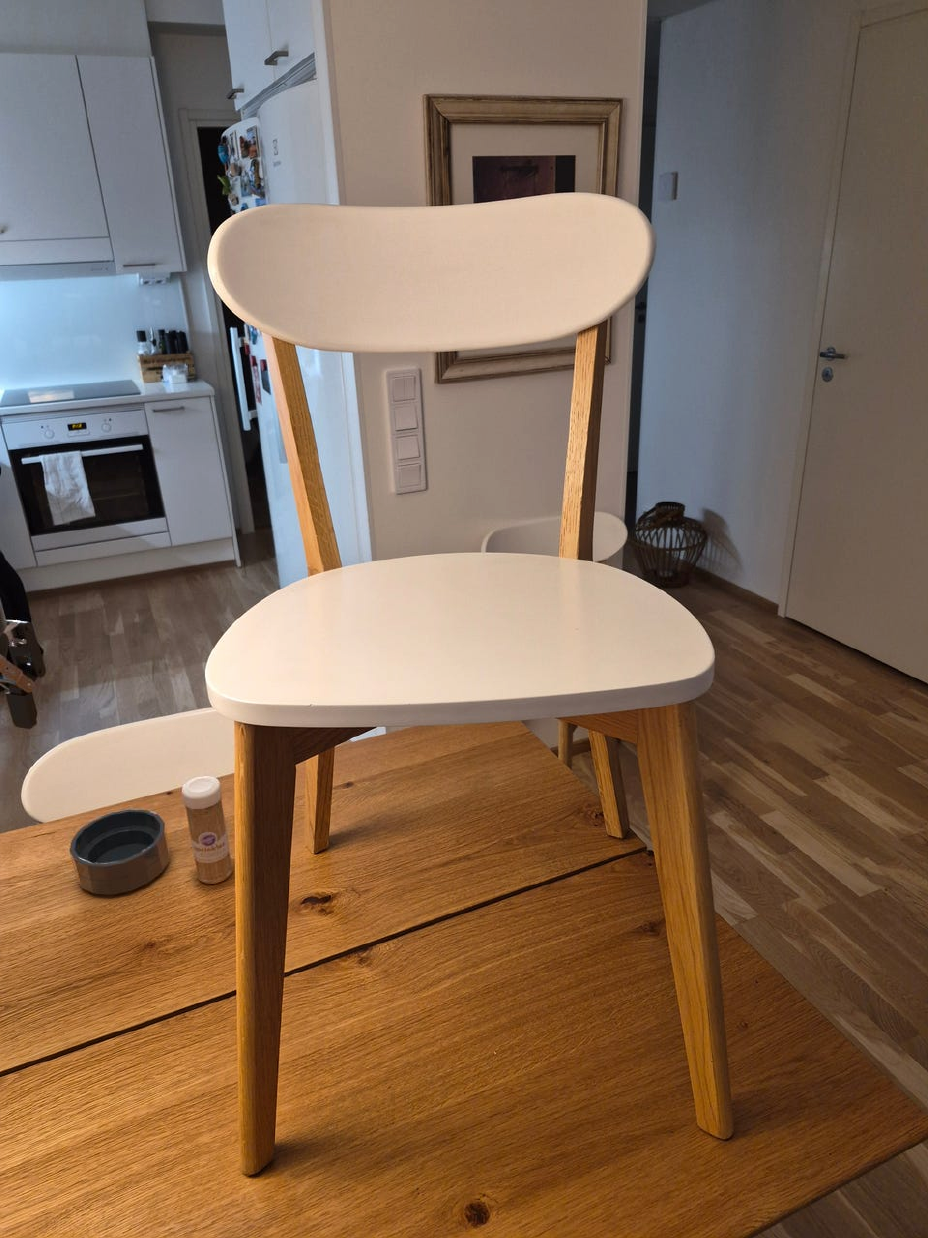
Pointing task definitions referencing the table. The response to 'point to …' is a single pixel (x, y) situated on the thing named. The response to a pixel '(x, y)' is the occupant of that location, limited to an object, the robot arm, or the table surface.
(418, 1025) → the table surface
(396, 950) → the table surface
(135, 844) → the bowl
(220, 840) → the sprinkles bottle
